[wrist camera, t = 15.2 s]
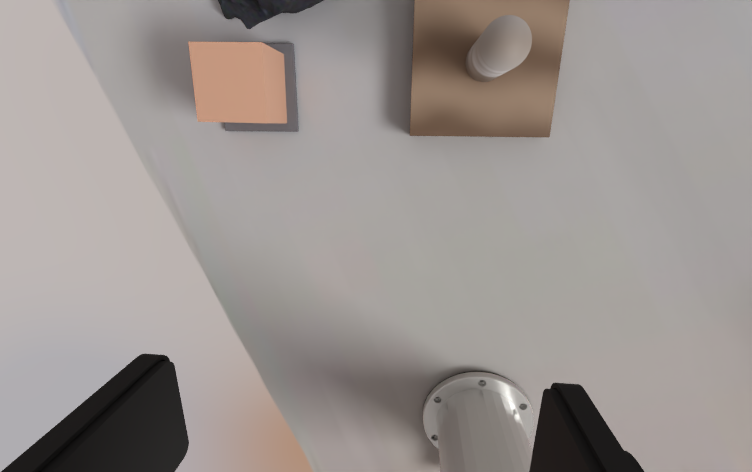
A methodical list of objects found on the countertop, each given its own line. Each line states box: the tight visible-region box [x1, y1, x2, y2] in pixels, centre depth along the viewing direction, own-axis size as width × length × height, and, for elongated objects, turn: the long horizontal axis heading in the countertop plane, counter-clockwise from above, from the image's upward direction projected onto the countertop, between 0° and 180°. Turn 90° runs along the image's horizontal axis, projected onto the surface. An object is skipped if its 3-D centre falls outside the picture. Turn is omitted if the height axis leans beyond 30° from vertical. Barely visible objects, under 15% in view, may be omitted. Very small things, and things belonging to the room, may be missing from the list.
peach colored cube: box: [188, 42, 287, 123], centre depth 31 cm, size 6×6×5 cm
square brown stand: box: [410, 0, 570, 137], centre depth 27 cm, size 12×12×9 cm
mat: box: [225, 43, 298, 132], centre depth 34 cm, size 8×7×1 cm
